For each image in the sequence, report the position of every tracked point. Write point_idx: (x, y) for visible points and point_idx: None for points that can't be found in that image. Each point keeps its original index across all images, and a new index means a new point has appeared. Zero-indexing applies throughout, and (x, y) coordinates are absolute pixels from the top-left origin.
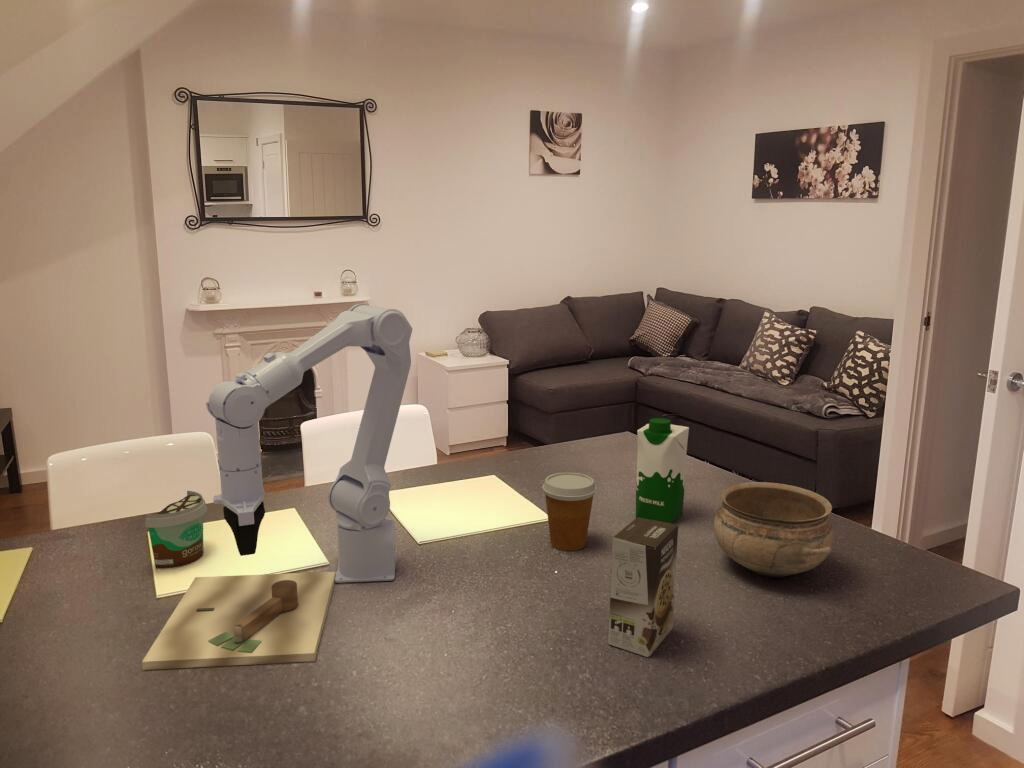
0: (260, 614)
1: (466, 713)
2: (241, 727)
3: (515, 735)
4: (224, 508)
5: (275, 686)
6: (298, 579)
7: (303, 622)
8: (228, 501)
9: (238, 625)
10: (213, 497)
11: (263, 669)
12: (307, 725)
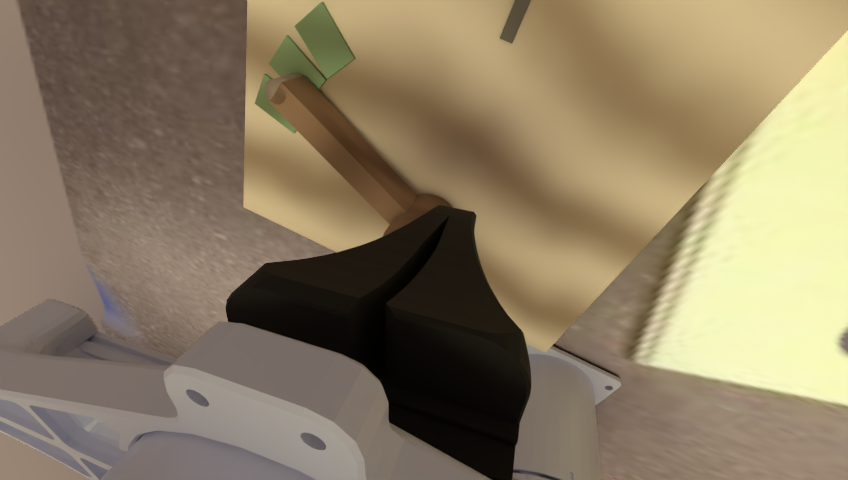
0: (327, 159)
1: (146, 293)
2: (87, 39)
3: (119, 306)
4: (449, 339)
5: (191, 120)
6: (558, 286)
7: (350, 227)
8: (122, 429)
9: (281, 95)
10: (268, 399)
11: (241, 113)
12: (106, 139)
